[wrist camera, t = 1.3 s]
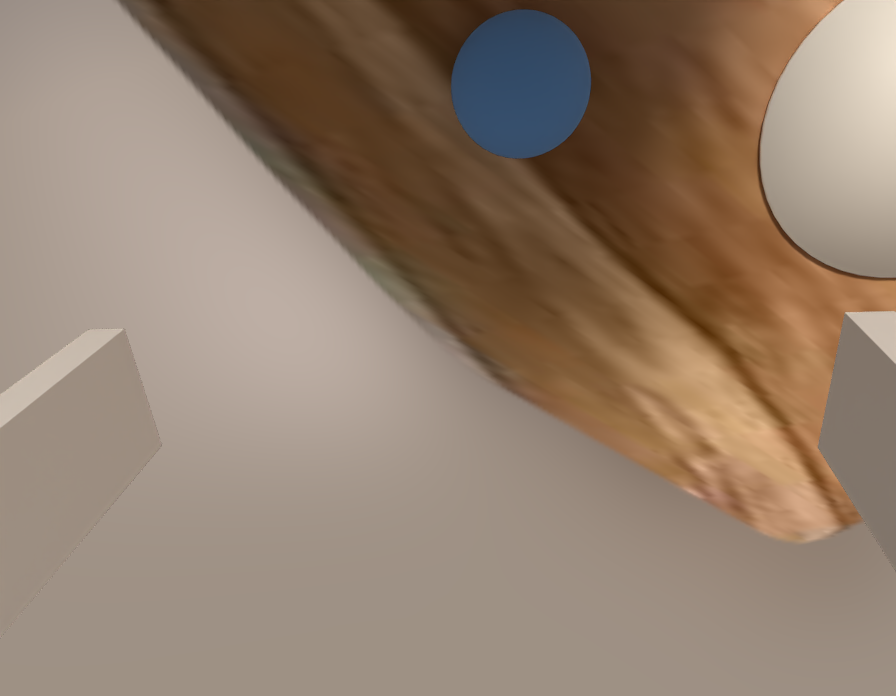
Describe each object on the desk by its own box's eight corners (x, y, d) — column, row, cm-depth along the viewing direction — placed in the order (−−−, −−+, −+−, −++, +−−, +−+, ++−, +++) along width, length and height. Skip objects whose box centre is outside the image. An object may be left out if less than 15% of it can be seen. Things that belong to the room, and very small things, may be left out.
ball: (439, 41, 29) (420, 44, 24) (563, -12, 28) (571, -20, 23) (483, 164, 31) (473, 190, 26) (601, 120, 30) (615, 139, 25)
